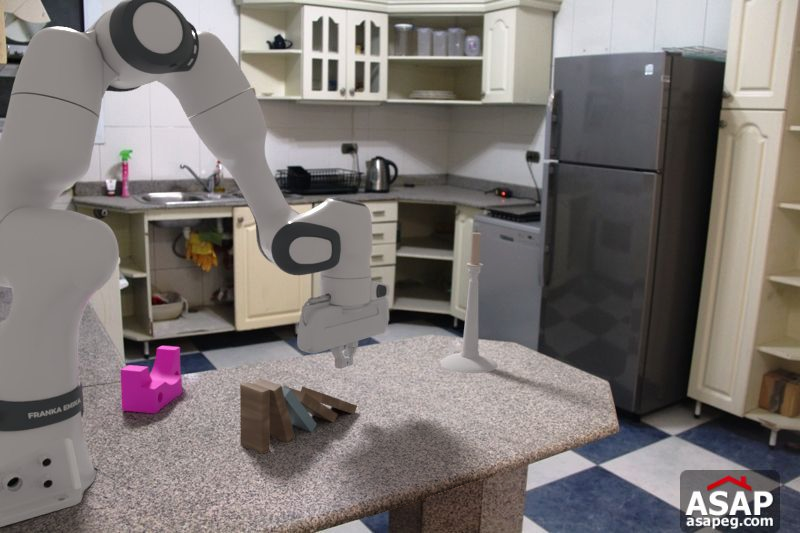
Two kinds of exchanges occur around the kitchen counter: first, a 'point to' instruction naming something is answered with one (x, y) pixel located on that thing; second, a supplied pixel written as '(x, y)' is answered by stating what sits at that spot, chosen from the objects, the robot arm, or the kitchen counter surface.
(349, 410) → the domino
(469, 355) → the candlestick
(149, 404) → the toy block
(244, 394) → the domino
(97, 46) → the robot arm
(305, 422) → the domino
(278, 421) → the domino
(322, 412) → the domino
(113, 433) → the kitchen counter surface
